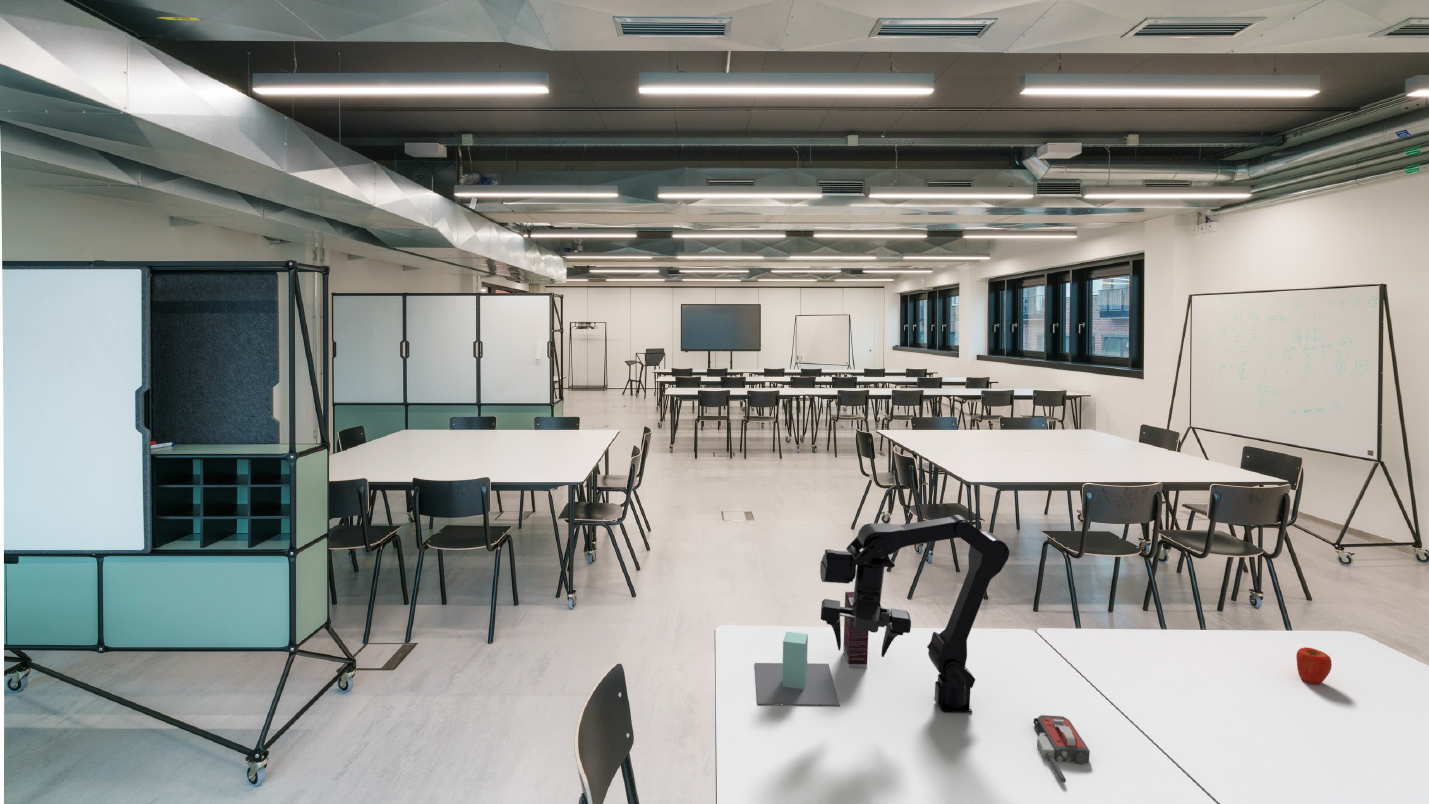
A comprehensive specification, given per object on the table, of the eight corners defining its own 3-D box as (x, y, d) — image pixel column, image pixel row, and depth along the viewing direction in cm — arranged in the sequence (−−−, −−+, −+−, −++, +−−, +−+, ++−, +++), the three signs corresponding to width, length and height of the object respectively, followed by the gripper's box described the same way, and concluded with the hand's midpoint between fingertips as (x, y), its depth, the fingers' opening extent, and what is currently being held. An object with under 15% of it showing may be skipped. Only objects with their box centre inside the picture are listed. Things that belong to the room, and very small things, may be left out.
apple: (1334, 684, 166) (1338, 654, 165) (1318, 690, 164) (1322, 659, 163) (1304, 672, 172) (1307, 642, 171) (1287, 676, 170) (1291, 647, 169)
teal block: (806, 678, 168) (807, 634, 167) (804, 689, 164) (805, 643, 162) (785, 675, 170) (786, 631, 168) (782, 686, 165) (783, 641, 163)
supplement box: (868, 668, 174) (870, 605, 172) (848, 667, 174) (849, 605, 172) (861, 650, 182) (863, 591, 180) (842, 650, 182) (844, 591, 180)
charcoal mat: (828, 664, 175) (828, 663, 175) (839, 705, 158) (839, 704, 157) (754, 664, 176) (754, 662, 176) (757, 704, 158) (757, 703, 158)
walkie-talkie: (1022, 724, 151) (1057, 787, 132) (1024, 705, 151) (1058, 765, 131) (1066, 727, 150) (1107, 791, 131) (1067, 707, 150) (1109, 768, 130)
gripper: (823, 591, 147) (816, 663, 149) (917, 605, 144) (908, 678, 146) (824, 572, 158) (817, 640, 160) (912, 585, 155) (903, 653, 157)
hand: (860, 652), depth 155 cm, fingers open, 9 cm apart
